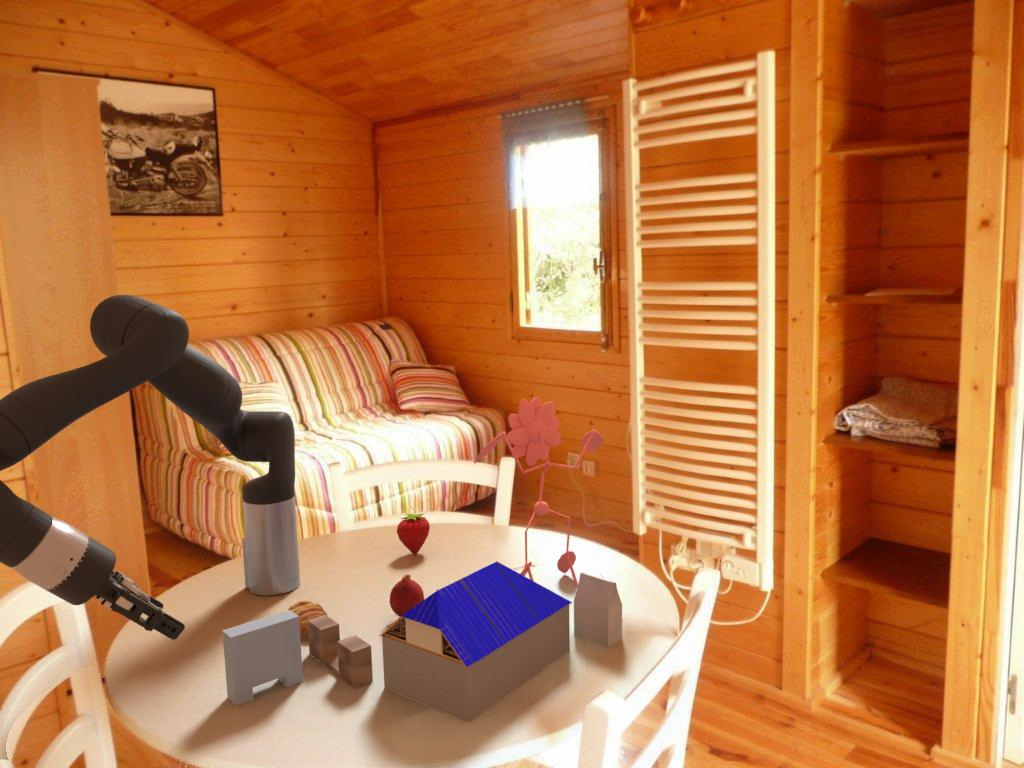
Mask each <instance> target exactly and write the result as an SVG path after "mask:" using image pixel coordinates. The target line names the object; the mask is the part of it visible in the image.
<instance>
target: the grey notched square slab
mask: <svg viewBox="0 0 1024 768" xmlns="http://www.w3.org/2000/svg"><path fill="white" fill-rule="evenodd" d="M287 610H288V609H287ZM287 610H285V611H283V612H278V613H275V614H272V615H269V616H268V615H267V616H265V617H262V618H259V619H255V620H252V621H249V622H246V623H242V624H239V625H236V626H233V627H229V628H226V629H222V643H223V656H224V668H225V681H226V692H227V695H226V696H227V699H228V700H230V702H231V703H232V704H233V705H234V706H235V707H237V706H239V705H242V704H245V703H248V702H250V701H253V700H254V691H253V690H254V688H256V687H259V686H261V685H264V684H266V683H270V682H273V681H275V680H278V681H279V682H280V683H281V684H283V686H285V688H289V687H292V686H294V685H297V684H299V683H303V682H304V676H303V659H302V644H301V643H302V642H301V640H302V639H301V638H300V624H299V616H298V615H296V614H295V613H294V612H292V611H291V610H288V611H287Z"/></svg>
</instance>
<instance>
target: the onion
mask: <svg viewBox="0 0 1024 768" xmlns="http://www.w3.org/2000/svg"><path fill="white" fill-rule="evenodd" d="M424 599H425V594H424V590H423V587H422V586H421V585H420V584H419V583H418V582H417V581H415V580H413V579H411V574H409V573H405V574H404V575H403V576H402V578H401V580H400V581H398V582H397V583H396V584H395V585H394V586H393V587H392V588H391V590H390V593H389V606H390V609H391V610H392V612H394V614H395V615H396V616H397V617H398V618H399V617H400V616H402V615H403V614H405V613H406V612H407V611H409V610H410V609H412V608H413V607H414V606H416V605H417V604H419V603H420V602H422V601H423V600H424Z"/></svg>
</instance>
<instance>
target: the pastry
mask: <svg viewBox="0 0 1024 768" xmlns="http://www.w3.org/2000/svg"><path fill="white" fill-rule="evenodd" d="M288 610H291V611H292V612H294V613H295V614H296V615H298V616H299V624H300V640H308V641H309V637H308V620H310V619H314V618H317V617H320V616H323V615H326V616H328V613H327V612H326V611H325V609H324V607H323V606H322V605H320V604H319V603H313V602H312V601H309V600H302V601H301V600H299V601H297V602H296V603H294V604H293V605H291V606H290V607H288V609H286V611H288Z"/></svg>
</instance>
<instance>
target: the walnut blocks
mask: <svg viewBox="0 0 1024 768" xmlns="http://www.w3.org/2000/svg"><path fill="white" fill-rule="evenodd" d="M308 637H309V640H308V651H309V655H310V656H312V657H313V658H314V659H315V660H317V661H318V662H320V663H321V664H322V665H323V666H325V667H326V668H327V669H329V670H330V671H331V672H332V673H334V675H337V676H338V677H339V678H340V679H342V680H343V681H344V682H346V683H347V684H348V685H350V687H352V688H353V689H356V688H359V687H361V686H364V685H366V684H369V683H372V682H374V679H373V661H372V660H373V659H372V658H373V657H372V656H373V655H372V645H371V644H370V643H368V642H366V641H365V640H363V639H362V638H360V637H359V636H357V635H355V634H354V635H352V636H349V637H346V638H342V639H341V633H340V623H338V622H337V621H335V620H333V619H332V618H331V617H329V615H327V616H326V615H323V616H320V617H317V618H314V619H310V620H308Z"/></svg>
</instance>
